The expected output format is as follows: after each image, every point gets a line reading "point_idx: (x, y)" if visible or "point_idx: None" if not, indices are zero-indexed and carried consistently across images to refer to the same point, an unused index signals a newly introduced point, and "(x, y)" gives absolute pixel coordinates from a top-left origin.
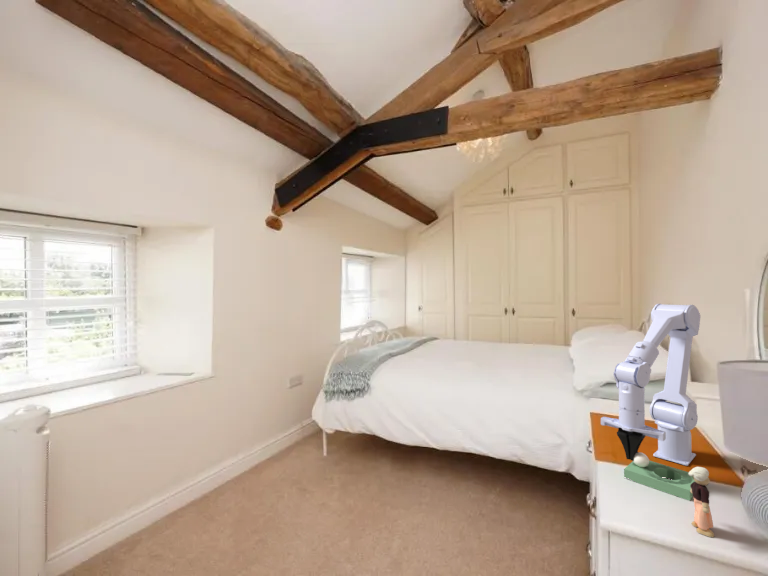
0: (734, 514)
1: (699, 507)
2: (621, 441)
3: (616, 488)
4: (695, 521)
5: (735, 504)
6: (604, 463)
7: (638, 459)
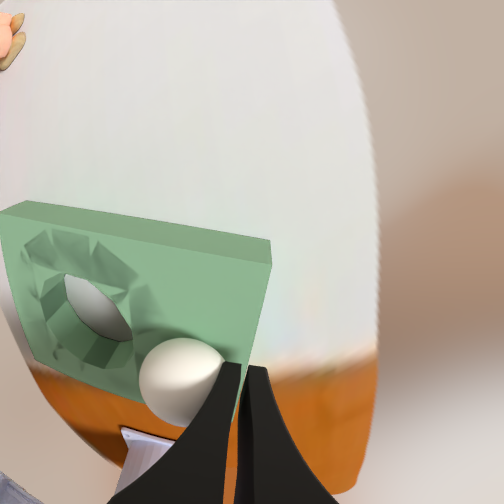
0: None
1: None
2: (308, 474)
3: (289, 80)
4: (9, 30)
5: None
6: (366, 341)
7: (182, 365)
